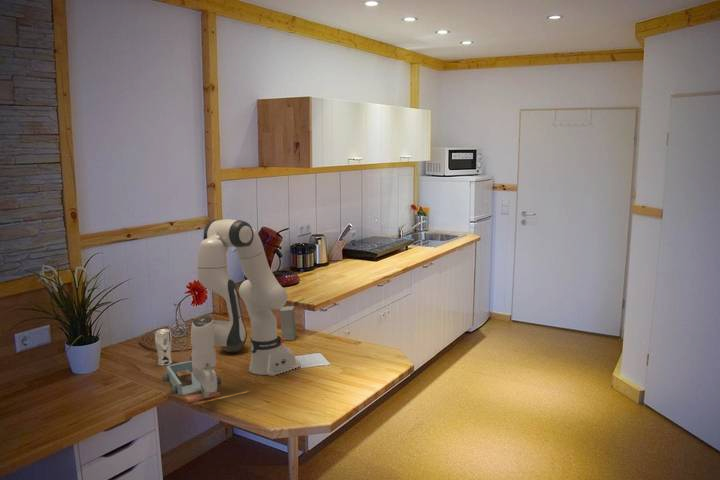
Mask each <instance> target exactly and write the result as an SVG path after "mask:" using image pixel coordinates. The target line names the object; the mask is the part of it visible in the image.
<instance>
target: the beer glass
mask: <svg viewBox="0 0 720 480" xmlns="http://www.w3.org/2000/svg"><path fill="white" fill-rule="evenodd" d="M172 341H173V339H172V330H171V329H170V328H160V329H157V330H155V332H154V342H155V348H156V351H157V357H158V358H157V359H158V360H157V365H158V366H161V367H164V366H165V367H166V366H167V365H172V364H173V360H172V355H171V353H172V346H173V345H172V344H173V342H172Z"/></svg>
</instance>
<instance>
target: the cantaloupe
mask: <svg viewBox="0 0 720 480" xmlns="http://www.w3.org/2000/svg"><path fill="white" fill-rule="evenodd" d="M226 321H230V320H229V319H228V320H226ZM244 326H245V330H246V338H245V341H244V342H243V343H242V344H241V345H240V346H238V347H237V348H234V347H227V346H220V347H221V348H222V350H223V351H225V352H228V353H237V352H239V351H240V350H242V349H243V347H244V346H245V343H246V341H247V338H248V331H247V327H246V325H245V324H244Z"/></svg>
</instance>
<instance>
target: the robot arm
mask: <svg viewBox="0 0 720 480" xmlns="http://www.w3.org/2000/svg"><path fill="white" fill-rule="evenodd" d="M202 237H203V240H202V241H201V242H200V243H199V247H198V252H197V258H196V259H197V260H196V261H197V262H196V265H197V269H196V270H197V272H196V274H197V278H198V282H199V283H200V285H201V286H203V287H204V288H205V289H207V290H208V291H211V292H212V293H216V294H217V295H219V296H221V297H222V299H224V301H225V302H226V303H225V304H226V308H227V314H228V320H230V321H227V320H217V319H216V320H215V319H214V320H213V318H212V317H210V316H200V317H197V318H195V319H194V320H192V323H191V329H190V344H191V347H192V349H191V350H192V351H191V354H190V355H189V361H192V369H193V374H194V377H195V378H196V379H197V380H198V381H199V383H200V385H201V389H202V390H201V393H202V394H203V395H204V397H209V393H211V392H215V391H218V387H217V379H216V375H217V373H216V371H215V369H213V368H214V367H215V366H216V365H217V351H216V348H215V347H216V346H218V347H221V346H227V347H234V348H237V347H238V346H240V345H241V344H242V343H243V342H244V341H245V338H246V330H247V329H246V330H245V327H246V325H245V323H244V320H243V319H244V318H243V316H242V314H243V313H242V309H241V304H240V299H239V297H240V298H241V300H242V301H243V303H244V305H245V308H246V310H247V313H248V317H249V321H250V322H249V323H250V334H251V335H250V336H251V337H250V342H249V343H250V351H251V354H250V362H249V367H248V371H249V373H251V374H254V375H260V376H261V375H262V376H271V377H273V376H277V374H278V375H281V374H283V372H284V373H287V372H290V371H293V370H296V369H299V368H301V367H302V363H301V361H299V359H298V358H296V356H295V353H294V351H293V350H292V349H291V348H289V347H288V346H286V345H285V344H284V343H286V341H287V340H285V339H284V338H282V336H280V335H278V323H277V322H278V321H277V317H276V316H275V315H274V313H273V312H272V310H274V311H276V310H281V308H282V307H285V305H286V304H287V302H288V293H287V290H286V289H285V288H284V287H283V286H282V285H281V284H280V283H279V281H278V279H277V278H276V276H275V275H274V273H273V271H272V269H271V268H270V266H269V265H270V264H269V262H268V259H267V256H266V251H265V249H264V245H263V241H262V239H261V237H260V235H259V234H258V231H257V230H256V229H255V228H253V227H252V225H251V224H250V223H249V222H247V221H245V220H242V219H241V220H240V219H239V220H238V219H233V218H232V219H231V218H228V219H227V218H226V219H212V220H210V221H209V222H207V224H205V226H204V229H203V236H202ZM229 248H235V251H236V255H237V258H238V262H239V265H240V268H241V272H242V274H243V275H244V276H245V278H246V279H245V280H244V281H243V282H242V283H241V284H240V286H239V289H238V288H237V285H236V283H235V281H234V280H232V279H231V277H230V275H229V272H228V267H227V265H228V263H227V252H228V250H229ZM244 325H245V326H244ZM246 339H247V338H246ZM300 366H301V367H300ZM298 367H299V368H298ZM295 368H296V369H295ZM292 369H293V370H292ZM289 370H290V371H289ZM286 371H287V372H286ZM280 373H281V374H280Z"/></svg>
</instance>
